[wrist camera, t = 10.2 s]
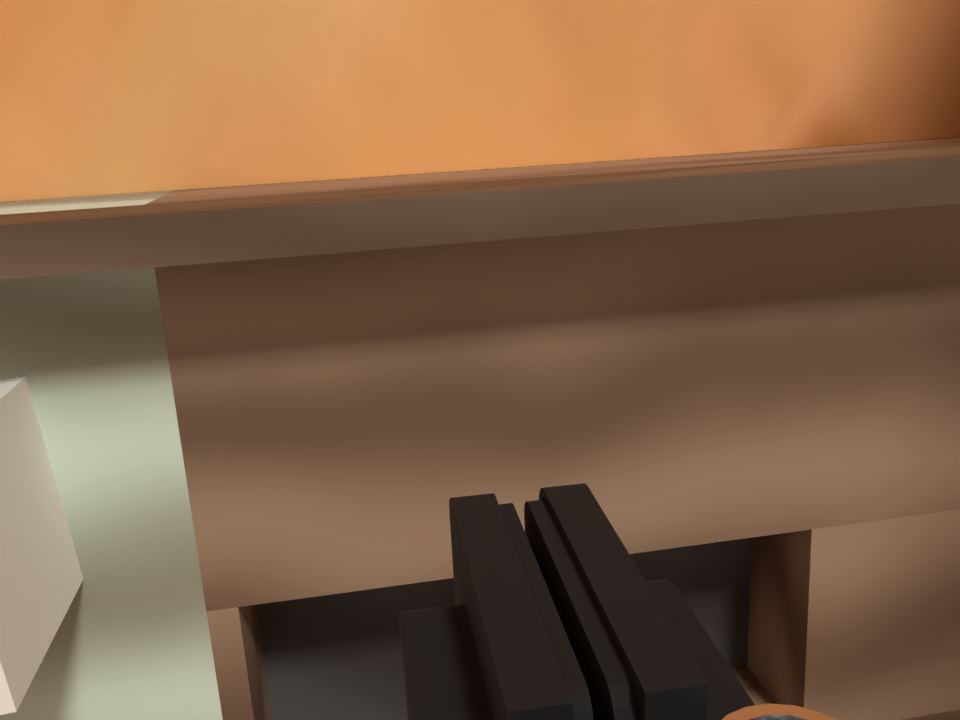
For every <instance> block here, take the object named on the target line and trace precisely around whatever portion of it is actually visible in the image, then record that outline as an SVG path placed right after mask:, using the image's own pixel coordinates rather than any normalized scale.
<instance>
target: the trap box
mask: <svg viewBox="0 0 960 720" xmlns="http://www.w3.org/2000/svg"><path fill="white" fill-rule="evenodd" d="M25 376H26V378H27V382H28V385H29V389H30V392H31V396H32V399H33V403H34V407H35V410H36V414H37V417H38V421H39V424H40V428H41V431H42V435H43V438H44V442H45V445H46V449H47V452H48V456H49V459H50V463H51V467H52V470H53V474H54V477H55V481H56V484H57V488H58V491H59V495H60V498H61V502H62V505H63V509H64V512H65V516H66V519H67V523H68V527H69V530H70V534H71V537H72V541H73V544H74V548H75V551H76V555H77V558H78V562H79V565H80V569H81V572H82V576H83V581H82V583H81V585H80V587H79V589H78V591H77V593H76V595H75V597H74V599H73V601H72V603H71V605H70V607H69V609H68V611H67V613H66V615H65V617H64V619H63V621H62V623H61V625H60V627H59V628H58V630H57V632H56V634H55V636H54V638H53V640H52V642H51V644H50V646H49V648H48V650H47V652H46V654H45V656H44V658H43V660H42V662H41V664H40V666H39V668H38V670H37V672H36V674H35V676H34V678H33V680H32V682H31V684H30V686H29V688H28V690H27V692H26V694H25V696H24V698H23V700H22V702H21V704H20V706H19V708H18V710H17V712H13V713H8V714H4V715H0V720H408V714H407V703H406V693H405V682H404V671H403V659H402V648H401V636H400V625H399V612H403V611H411V610H419V609H427V608H435V607H443V606H451V605H455V591H454V576H453V561H452V545H451V530H450V514H449V499H450V498H454V497H463V496H472V495H481V494H490V493H494V494H495V496H496V498H497V501H498V504H507V503H513V504H514V506H515V509H516V511H517V514H518V516H519V519H520V521H521V524H522V526H523V529H524V531H525V524H524V505H525V501H534V500H539V492H540V489H541V488H545V487H554V486H563V485H573V484H582V483H585V484H586V485H587V486H588V487H589V489H590V490H591V492H592V494H593V495H594V497H595V499H596V500H597V502H598V504H599V505H600V507H601V508H602V510H603V512H604V513H605V515H606V517H607V518H608V520H609V522H610V523H611V525H612V527H613V528H614V530H615V532H616V533H617V535H618V536H619V538H620V540H621V541H622V543H623V545H624V546H625V548H626V550H627V551H628V553H629V555H630V556H631V558H632V559H633V561H634V563H635V564H636V566H637V568H638V569H639V571H640V573H641V574H642V576H643V578H644V579H645V581H653V580H661V579H668V580H671V581H672V582H673V583H674V584H675V585H676V587H677V588H678V590H679V591H680V593H681V594H682V596H683V597H684V599H685V600H686V602H687V603H688V605H689V606H690V608H691V609H692V611H693V612H694V614H695V615H696V617H697V618H698V620H699V621H700V623H701V624H702V626H703V627H704V629H705V630H706V632H707V633H708V635H709V636H710V638H711V639H712V641H713V642H714V644H715V645H716V647H717V648H718V650H719V651H720V653H721V654H722V656H723V657H724V659H725V660H726V662H727V663H728V665H729V667H730V668H731V670H732V671H733V673H734V674H735V676H736V677H737V679H738V680H739V682H740V683H741V685H742V686H743V688H744V689H745V691H746V692H747V694H748V695H749V697H750V698H751V700H752V701H753V703H754V704H755V705H762V704H783V705H795V706H799V707H803V708H806V709H810V710H814V711H818V712H821V713H823V714H825V715H827V716H829V717H831V718H833V719H836V720H960V138H945V139H930V140H915V141H901V142H886V143H871V144H856V145H841V146H826V147H812V148H797V149H782V150H767V151H752V152H737V153H723V154H708V155H693V156H678V157H663V158H648V159H634V160H619V161H604V162H589V163H574V164H559V165H545V166H530V167H515V168H500V169H485V170H470V171H456V172H441V173H426V174H411V175H396V176H381V177H367V178H352V179H337V180H322V181H307V182H293V183H278V184H263V185H248V186H233V187H218V188H204V189H189V190H174V191H159V192H144V193H129V194H115V195H100V196H85V197H70V198H55V199H40V200H26V201H11V202H0V381H1V380H7V379H13V378H19V377H25Z"/></svg>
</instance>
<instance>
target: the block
mask: <svg viewBox="0 0 960 720" xmlns="http://www.w3.org/2000/svg"><path fill="white" fill-rule="evenodd" d="M82 581H83V576H82V572H81V569H80V565H79V562H78V558H77V555H76V551H75V548H74V544H73V541H72V537H71V534H70V530H69V527H68V523H67V519H66V516H65V512H64V509H63V505H62V502H61V498H60V495H59V491H58V488H57V484H56V481H55V477H54V474H53V470H52V467H51V463H50V459H49V456H48V452H47V449H46V445H45V442H44V438H43V435H42V431H41V428H40V424H39V421H38V417H37V414H36V410H35V407H34V403H33V399H32V396H31V392H30V389H29V385H28V382H27V378H26V376H25V377H19V378H13V379H7V380H1V381H0V715H4V714H8V713H13V712H17V710H18V708H19V706H20V704H21V702H22V700H23V698H24V696H25V694H26V692H27V690H28V688H29V686H30V684H31V682H32V680H33V678H34V676H35V674H36V672H37V670H38V668H39V666H40V664H41V662H42V660H43V658H44V656H45V654H46V652H47V650H48V648H49V646H50V644H51V642H52V640H53V638H54V636H55V634H56V632H57V630H58V628H59V627H60V625H61V623H62V621H63V619H64V617H65V615H66V613H67V611H68V609H69V607H70V605H71V603H72V601H73V599H74V597H75V595H76V593H77V591H78V589H79V587H80V585H81V583H82Z"/></svg>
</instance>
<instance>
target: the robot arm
mask: <svg viewBox="0 0 960 720" xmlns="http://www.w3.org/2000/svg"><path fill="white" fill-rule="evenodd" d="M449 514H450V530H451V545H452V561H453V576H454V591H455V605H451V606H443V607H435V608H427V609H419V610H411V611H403V612H399V625H400V636H401V648H402V659H403V671H404V682H405V693H406V703H407V714H408V720H836V719H833V718H831V717H829V716H827V715H825V714H823V713H821V712H818V711H814V710H810V709H806V708H803V707H799V706H795V705H783V704H762V705H755V704H754V703H753V701H752V700H751V698H750V697H749V695H748V694H747V692H746V691H745V689H744V688H743V686H742V685H741V683H740V682H739V680H738V679H737V677H736V676H735V674H734V673H733V671H732V670H731V668H730V667H729V665H728V663H727V662H726V660H725V659H724V657H723V656H722V654H721V653H720V651H719V650H718V648H717V647H716V645H715V644H714V642H713V641H712V639H711V638H710V636H709V635H708V633H707V632H706V630H705V629H704V627H703V626H702V624H701V623H700V621H699V620H698V618H697V617H696V615H695V614H694V612H693V611H692V609H691V608H690V606H689V605H688V603H687V602H686V600H685V599H684V597H683V596H682V594H681V593H680V591H679V590H678V588H677V587H676V585H675V584H674V583H673V582H672V581H671V580H668V579H661V580H653V581H645V579H644V578H643V576H642V574H641V573H640V571H639V569H638V568H637V566H636V564H635V563H634V561H633V559H632V558H631V556H630V555H629V553H628V551H627V550H626V548H625V546H624V545H623V543H622V541H621V540H620V538H619V536H618V535H617V533H616V532H615V530H614V528H613V527H612V525H611V523H610V522H609V520H608V518H607V517H606V515H605V513H604V512H603V510H602V508H601V507H600V505H599V504H598V502H597V500H596V499H595V497H594V495H593V494H592V492H591V490H590V489H589V487H588V486H587V485H586V484H585V483H582V484H573V485H563V486H554V487H545V488H541V489H540V492H539V500H534V501H525V505H524V524H525V531H524V529H523V526H522V524H521V521H520V519H519V516H518V514H517V511H516V509H515V506H514V504H513V503H507V504H498V501H497V498H496V496H495V494H494V493H490V494H481V495H472V496H463V497H454V498H450V499H449Z"/></svg>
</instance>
